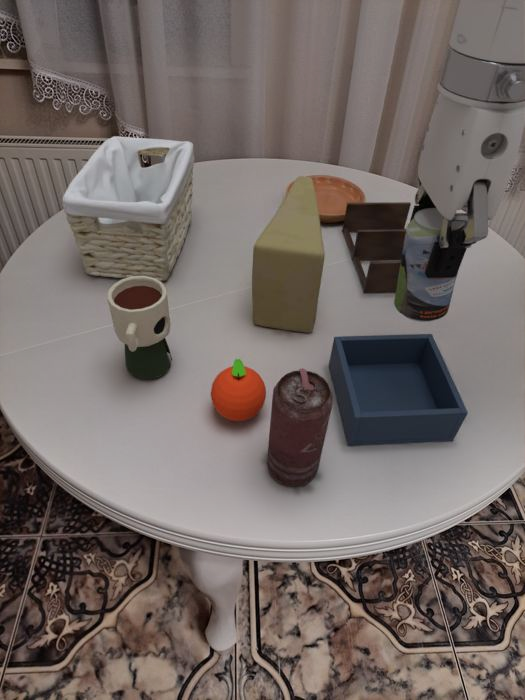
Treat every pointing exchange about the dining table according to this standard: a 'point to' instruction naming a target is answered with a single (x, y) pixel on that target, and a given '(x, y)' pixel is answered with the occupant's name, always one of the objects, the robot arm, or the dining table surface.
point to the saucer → (334, 196)
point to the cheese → (289, 263)
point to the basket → (132, 207)
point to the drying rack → (377, 242)
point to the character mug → (142, 324)
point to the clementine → (238, 392)
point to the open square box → (394, 390)
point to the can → (298, 426)
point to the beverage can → (423, 270)
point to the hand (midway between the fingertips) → (429, 255)
